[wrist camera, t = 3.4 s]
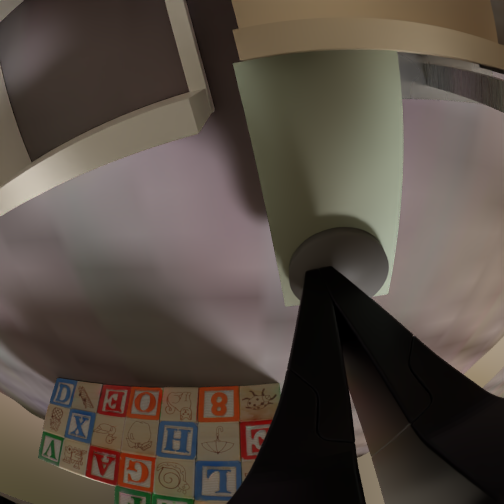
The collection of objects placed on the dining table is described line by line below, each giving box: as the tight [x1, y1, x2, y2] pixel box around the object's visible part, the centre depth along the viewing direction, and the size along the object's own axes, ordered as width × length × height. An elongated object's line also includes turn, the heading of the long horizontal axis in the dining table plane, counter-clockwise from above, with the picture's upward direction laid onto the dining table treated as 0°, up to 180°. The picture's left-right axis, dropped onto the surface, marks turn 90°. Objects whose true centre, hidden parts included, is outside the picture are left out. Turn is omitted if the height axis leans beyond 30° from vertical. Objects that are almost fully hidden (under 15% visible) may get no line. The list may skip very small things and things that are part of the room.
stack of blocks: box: [38, 378, 281, 504], centre depth 17 cm, size 21×6×12 cm, turn 98°
